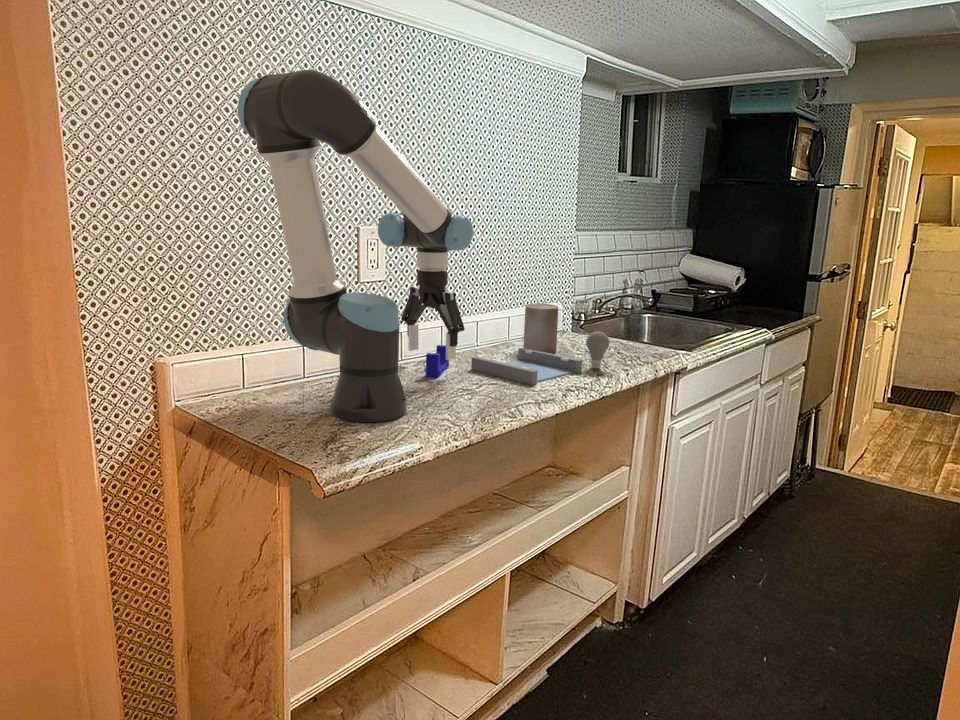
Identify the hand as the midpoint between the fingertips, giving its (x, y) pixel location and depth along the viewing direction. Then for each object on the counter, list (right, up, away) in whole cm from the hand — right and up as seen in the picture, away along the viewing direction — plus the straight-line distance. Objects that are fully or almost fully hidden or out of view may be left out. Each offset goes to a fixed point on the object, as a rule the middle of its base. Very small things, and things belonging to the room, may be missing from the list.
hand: (431, 354), depth 171 cm
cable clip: (+1, -5, +1) cm, 5 cm away
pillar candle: (+30, +1, +30) cm, 42 cm away
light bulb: (+43, -4, +11) cm, 45 cm away
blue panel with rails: (+24, -4, +5) cm, 25 cm away
